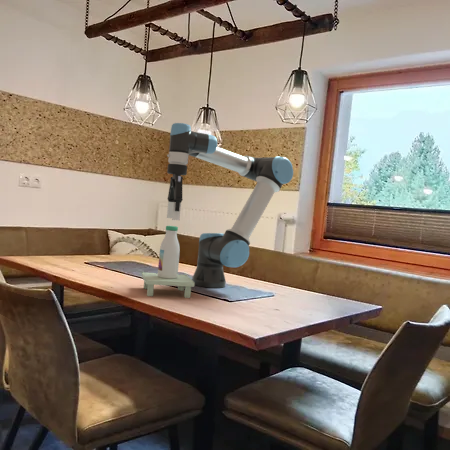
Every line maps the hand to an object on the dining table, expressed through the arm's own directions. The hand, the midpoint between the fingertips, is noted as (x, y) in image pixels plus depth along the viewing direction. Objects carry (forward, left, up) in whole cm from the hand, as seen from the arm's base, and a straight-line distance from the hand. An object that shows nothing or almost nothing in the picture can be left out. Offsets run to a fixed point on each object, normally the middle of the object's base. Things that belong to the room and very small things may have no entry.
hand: (172, 219), depth 183 cm
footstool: (0, 0, -29) cm, 29 cm away
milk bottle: (0, 0, -23) cm, 23 cm away
